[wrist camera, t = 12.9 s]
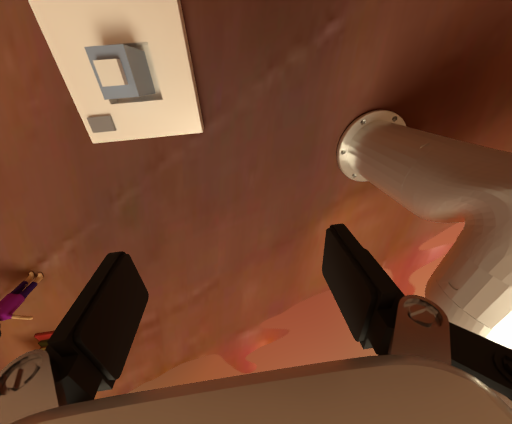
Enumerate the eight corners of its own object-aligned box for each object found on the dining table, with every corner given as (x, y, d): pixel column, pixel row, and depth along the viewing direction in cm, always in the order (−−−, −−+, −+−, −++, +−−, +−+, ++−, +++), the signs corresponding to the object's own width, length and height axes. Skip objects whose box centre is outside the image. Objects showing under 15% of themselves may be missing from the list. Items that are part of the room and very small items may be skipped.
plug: (144, 51, 29) (119, 42, 23) (155, 93, 32) (136, 97, 25) (113, 53, 29) (78, 45, 22) (127, 96, 32) (100, 100, 25)
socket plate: (179, -6, 27) (172, -17, 24) (204, 128, 36) (202, 133, 33) (45, 3, 27) (21, -8, 24) (102, 138, 35) (90, 144, 32)
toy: (64, 272, 48) (4, 343, 35) (67, 289, 50) (12, 361, 37) (5, 266, 45) (-83, 340, 32) (12, 284, 48) (-67, 359, 35)
